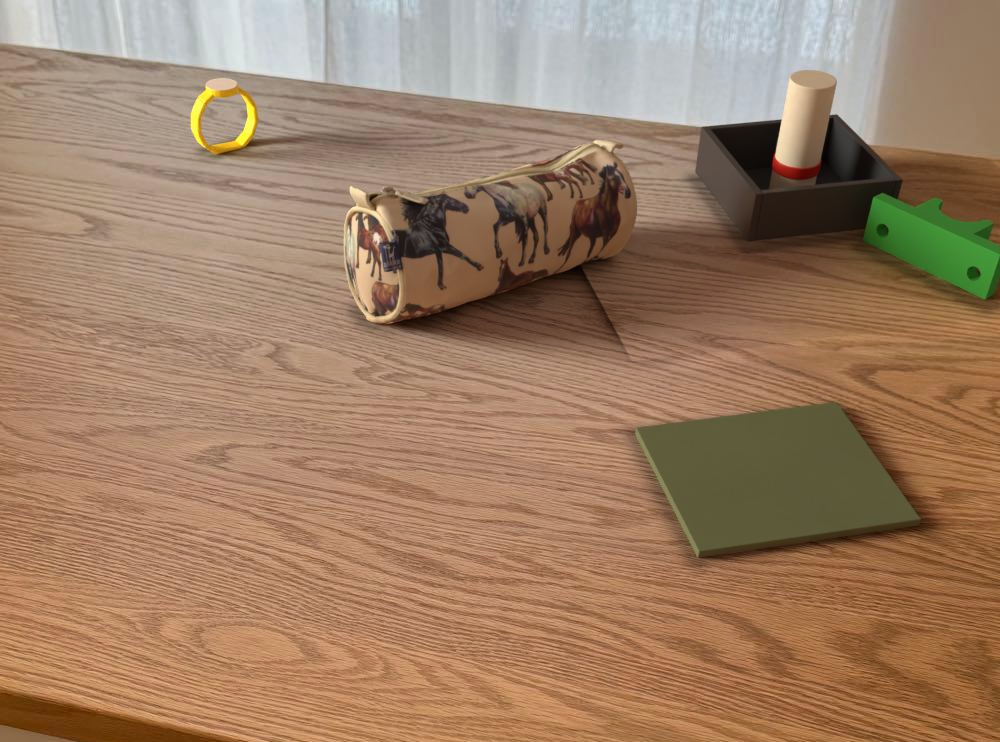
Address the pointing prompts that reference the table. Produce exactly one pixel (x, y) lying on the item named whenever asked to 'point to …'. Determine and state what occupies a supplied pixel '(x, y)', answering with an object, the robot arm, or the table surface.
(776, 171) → the red-banded cream cylinder
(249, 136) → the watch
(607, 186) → the pencil case
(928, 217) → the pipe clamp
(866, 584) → the table surface
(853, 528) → the mat
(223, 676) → the table surface
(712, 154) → the bin
